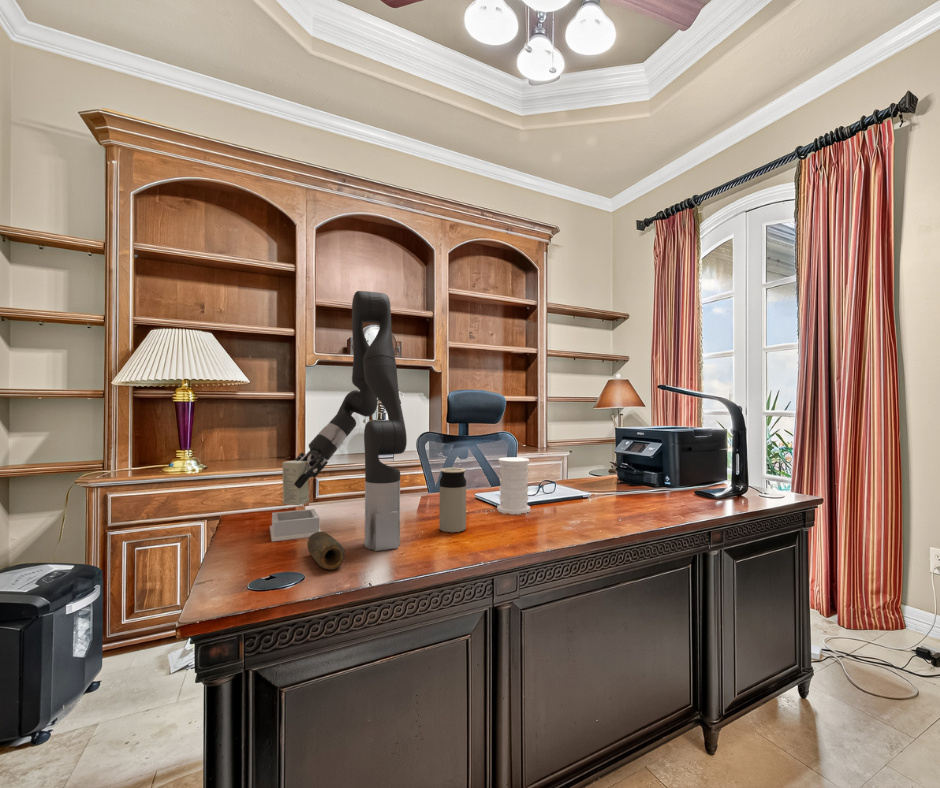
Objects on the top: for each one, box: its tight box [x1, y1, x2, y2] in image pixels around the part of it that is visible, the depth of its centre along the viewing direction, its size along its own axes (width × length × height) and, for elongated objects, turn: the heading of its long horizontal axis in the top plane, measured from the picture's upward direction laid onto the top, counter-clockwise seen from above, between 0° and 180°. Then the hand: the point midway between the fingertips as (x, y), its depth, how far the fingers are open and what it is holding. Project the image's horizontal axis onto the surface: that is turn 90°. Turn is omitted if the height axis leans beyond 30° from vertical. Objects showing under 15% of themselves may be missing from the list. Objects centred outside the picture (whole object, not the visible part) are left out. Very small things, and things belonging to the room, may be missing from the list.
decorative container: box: [496, 456, 531, 515], centre depth 163 cm, size 12×12×18 cm
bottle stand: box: [269, 508, 322, 542], centre depth 135 cm, size 13×13×5 cm
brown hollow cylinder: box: [306, 531, 346, 571], centre depth 111 cm, size 15×7×7 cm, turn 34°
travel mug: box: [438, 467, 467, 534], centre depth 139 cm, size 8×8×18 cm
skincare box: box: [282, 460, 310, 506], centre depth 135 cm, size 6×4×12 cm
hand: (290, 484), depth 134 cm, fingers closed on skincare box, 7 cm apart
